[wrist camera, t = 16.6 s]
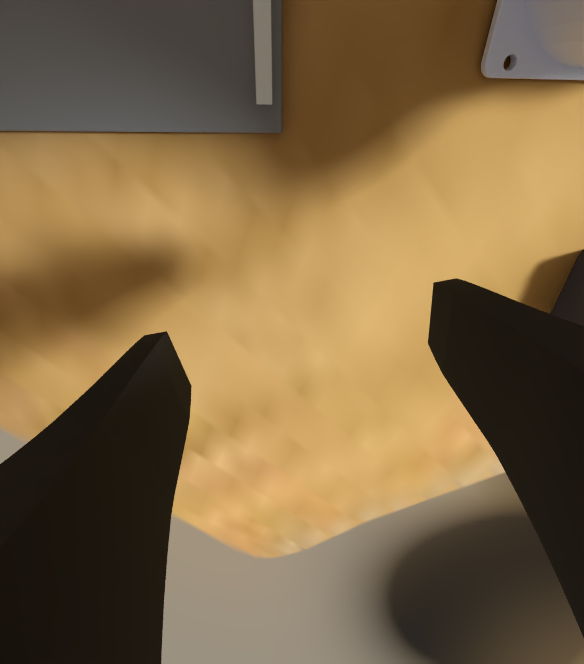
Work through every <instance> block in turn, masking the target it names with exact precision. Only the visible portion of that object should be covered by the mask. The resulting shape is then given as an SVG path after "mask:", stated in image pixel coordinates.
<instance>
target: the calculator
mask: <svg viewBox="0 0 584 664" xmlns="http://www.w3.org/2000/svg"><path fill="white" fill-rule="evenodd" d="M551 315H553V316H556V317H559V318H562V319H565V320H568V321H570V322H573V323H576V324H579V325H582V326H584V250H583V251H582V252H581V253H580V254H579V256H578V258H577V260H576V262H575V264H574V266H573V268H572V270H571V272H570V274H569V276H568V279H567V281H566V283H565V285H564V287H563V289H562V291H561V293H560V295H559V297H558V300H557V302H556V304H555V306H554V308H553V310H552V312H551Z"/></svg>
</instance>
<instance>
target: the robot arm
mask: <svg viewBox="0 0 584 664" xmlns="http://www.w3.org/2000/svg"><path fill="white" fill-rule="evenodd" d="M507 56H510V58H511V63H510V65H509V67H508V68H507V69H506V70H505V69H504V67H503V65H504V61H505V59H506V57H507ZM481 71H482V74H483V75H484V76H485V77H487V78H512V79H554V80H584V0H497V4H496V8H495V12H494V16H493V19H492V23H491V27H490V31H489V35H488V39H487V43H486V46H485V50H484V54H483V58H482V62H481ZM428 344H429V347H430V349H431V351H432V353H433V355H434V357H435V360H436V362H437V364H438V366H439V368H440V370H441V372H442V374H443V375H444V377H445V378H446V380H447V381H448V383H449V384H450V386H451V387H452V389H453V390H454V392H455V393H456V395H457V396H458V398H459V399H460V401H461V402H462V404H463V405H464V407H465V408H466V410H467V411H468V413H469V414H470V416H471V417H472V419H473V420H474V422H475V423H476V425H477V426H478V427H479V429H480V430H481V432H482V433H483V435H484V436H485V438H486V439H487V441H488V442H489V444H490V446H491V447H492V449H493V451H494V452H495V454H496V455H497V457H498V459H499V461H500V463H501V464H502V466H503V468H504V470H505V472H506V474H507V476H508V477H509V479H510V481H511V483H512V485H513V487H514V489H515V491H516V492H517V494H518V496H519V498H520V500H521V502H522V504H523V506H524V508H525V510H526V512H527V514H528V516H529V518H530V520H531V522H532V524H533V526H534V528H535V530H536V532H537V534H538V536H539V539H540V541H541V543H542V545H543V547H544V549H545V551H546V554H547V555H548V558H549V560H550V562H551V564H552V567H553V568H554V571H555V573H556V575H557V577H558V579H559V582H560V583H561V586H562V588H563V591H564V593H565V595H566V598H567V599H568V602H569V604H570V607H571V609H572V611H573V613H574V616H575V618H576V621H577V623H578V625H579V628H580V630H581V632H582V635H583V637H584V326H582V325H579V324H576V323H573V322H570V321H568V320H565V319H562V318H559V317H556V316H553V315H551V314H548V313H545V312H543V311H540V310H538V309H535V308H532V307H530V306H527V305H525V304H522V303H520V302H517V301H515V300H512V299H510V298H507V297H505V296H502V295H500V294H497V293H495V292H492V291H490V290H487V289H485V288H482V287H480V286H477V285H475V284H472V283H469V282H466V281H463V280H460V279H451V280H446V281H440V282H435V283H434V285H433V295H432V306H431V317H430V327H429V338H428ZM190 405H191V384H190V382H189V380H188V377H187V375H186V373H185V371H184V369H183V366H182V364H181V362H180V360H179V357H178V355H177V353H176V351H175V349H174V346H173V344H172V342H171V340H170V337H169V335H168V333H167V331H166V332H161V333H155V334H150V335H145V336H143V337H142V338H141V339H140V340H139V341H137V342H136V343H135V344H134V345H133V346H132V347H131V348H130V349H129V350H128V351H127V352H126V353H125V354H124V355H123V356H122V357H121V358H120V359H119V360H118V361H117V362H116V363H115V364H114V365H113V366H112V367H111V368H110V369H109V370H108V371H107V372H106V373H105V374H104V375H103V376H102V377H101V378H100V379H99V380H98V381H97V382H96V383H95V384H94V385H93V386H92V387H91V388H89V389H88V390H87V391H86V392H85V393H84V394H83V395H82V396H81V397H80V398H79V399H78V400H76V401H75V402H74V403H73V404H72V405H71V406H70V407H69V408H68V409H67V410H66V411H64V412H63V413H62V414H61V415H60V416H59V417H58V418H57V419H56V420H55V421H53V422H52V423H51V424H50V425H49V426H48V427H46V428H45V429H44V430H43V431H42V432H40V433H39V434H38V435H37V436H36V437H34V438H33V439H32V440H31V441H29V442H28V443H27V444H26V445H24V446H23V447H22V448H21V449H19V450H18V451H17V452H16V453H14V454H13V455H12V456H10V457H9V458H8V459H7V460H5V461H4V462H3V463H1V464H0V664H161V649H162V630H163V629H162V628H163V608H164V592H165V579H166V564H167V552H168V542H169V532H170V521H171V513H172V507H173V500H174V495H175V490H176V485H177V480H178V475H179V470H180V465H181V460H182V455H183V450H184V445H185V440H186V435H187V430H188V425H189V419H190Z"/></svg>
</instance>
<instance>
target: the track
mask: <svg viewBox="0 0 584 664" xmlns="http://www.w3.org/2000/svg"><path fill="white" fill-rule="evenodd" d="M0 131H111V132H223V133H282V0H0Z"/></svg>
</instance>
